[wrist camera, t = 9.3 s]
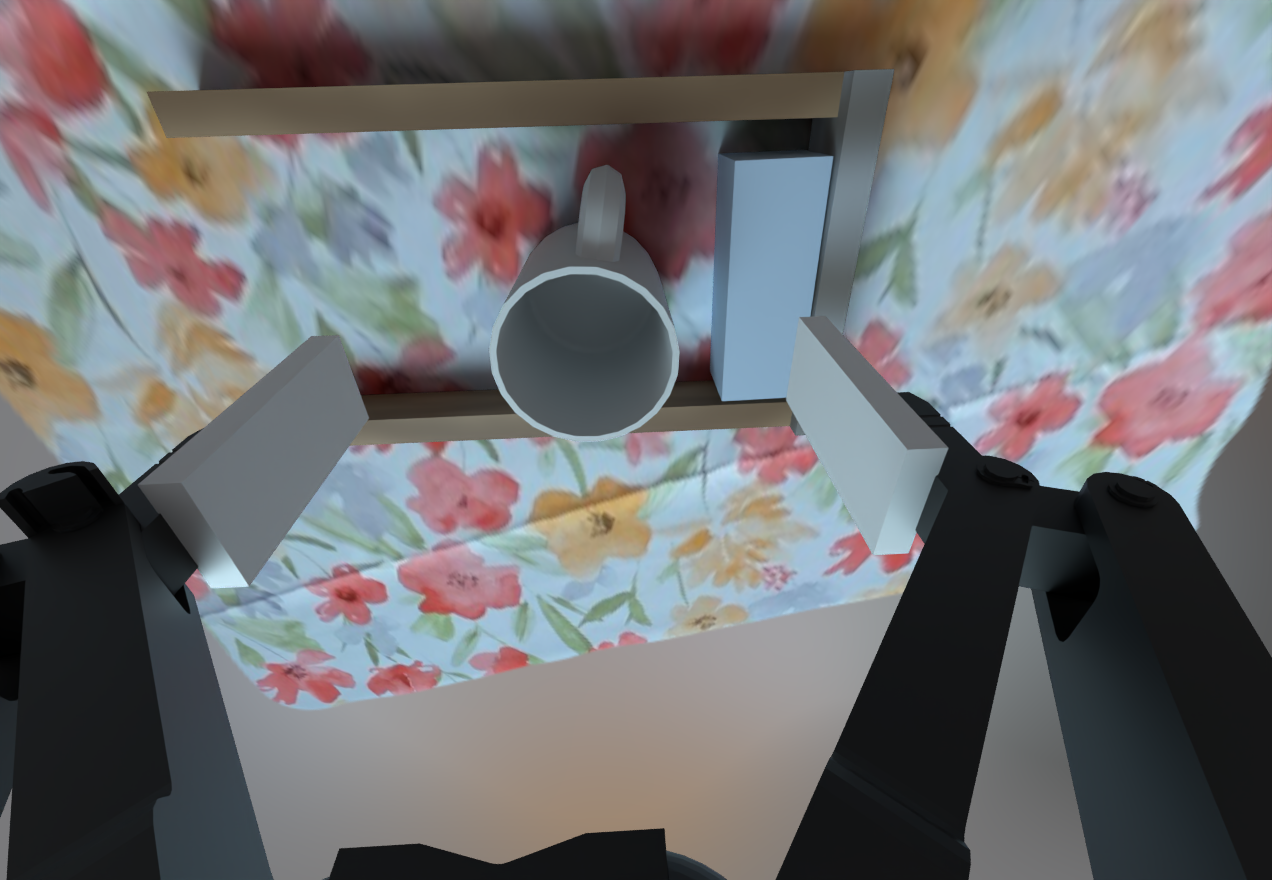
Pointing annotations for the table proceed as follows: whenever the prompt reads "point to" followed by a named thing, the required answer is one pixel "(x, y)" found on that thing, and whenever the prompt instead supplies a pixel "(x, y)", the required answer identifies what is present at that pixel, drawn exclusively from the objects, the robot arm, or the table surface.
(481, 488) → the table surface
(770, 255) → the block
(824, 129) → the channel
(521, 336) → the cup
